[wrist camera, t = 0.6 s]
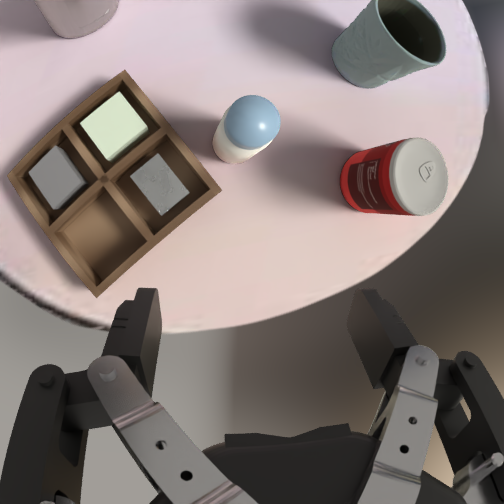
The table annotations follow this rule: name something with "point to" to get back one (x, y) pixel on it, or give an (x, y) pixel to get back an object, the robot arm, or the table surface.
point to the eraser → (58, 178)
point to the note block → (115, 127)
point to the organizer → (112, 190)
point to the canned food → (396, 178)
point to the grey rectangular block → (159, 184)
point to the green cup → (388, 43)
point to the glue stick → (246, 129)
